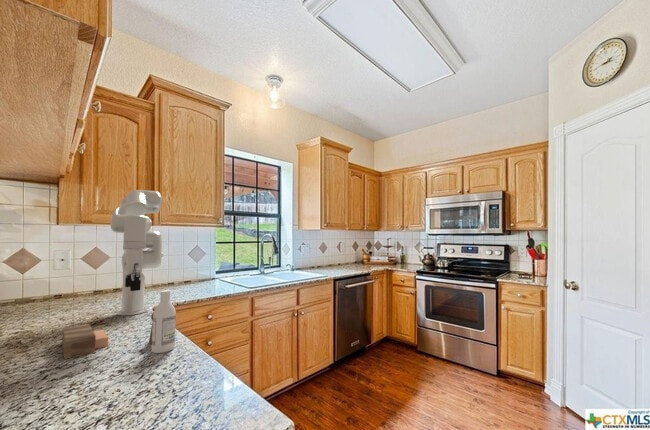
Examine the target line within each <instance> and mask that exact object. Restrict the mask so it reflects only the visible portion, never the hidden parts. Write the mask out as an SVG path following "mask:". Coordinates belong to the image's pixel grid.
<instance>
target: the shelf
mask: <svg viewBox="0 0 650 430" xmlns="http://www.w3.org/2000/svg"><path fill="white" fill-rule="evenodd" d="M93 331H94V330H93V328H92V326H91V324H90V323H86V324H81V325H75V326H68V327H63V328H62V335H61V337H62V338H61V346H62V352H63V353H62V354H63V357H64V359H70V358H74V357H79V356H84V355H88V354H90V353H91V354H92V353H95V352H96V349H95V337H96V336H95V334H94V332H93Z"/></svg>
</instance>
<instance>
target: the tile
mask: <svg viewBox="0 0 650 430" xmlns="http://www.w3.org/2000/svg"><path fill="white" fill-rule="evenodd" d="M93 332H94V334H95V336H96V337H95V350H96V349H100V348H106V347H109V336H108V335H107V333H106V331H105V330H104V329H99V330H93Z"/></svg>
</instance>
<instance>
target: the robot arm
mask: <svg viewBox="0 0 650 430" xmlns="http://www.w3.org/2000/svg"><path fill="white" fill-rule="evenodd" d="M162 204H163V197H162V195H161V193H160V192H159V191H157V190H148V189H147V190H145V189H134V190H131V191H129V192H128V194H127V197H126V196H125V197H123V198H122V200H121V205H119V206H118V207H116V208H115V209H114V210H113V211H112V214H111V218H110V229H111V231H112V232H114V233H116V234H117V233H118V234H119V233H120V234H123V239H122V240H123V241H122V250H125V251H124V253H123V254H122V255H121V265H122V291H121V308H120V310H118V311H117V312H116V313H117V315H118V316H124V317H125V316H135V315H140V314H143V313H146V312H147V311H148V308H147V307H144V305H145V285H146V282H145V281H146V278H145V277H146V276H145V275H144V273H143V270H144V269H157V268H159V267H160V266H161V264H162V251H163V250H162V242H163V241H162V239H163V238H162V234H161V232H160V231H158V230H151V229H152V226H153V224H152V219H151V218H150V217H149V216H147V215H146V214H158V213H159V212H160V211H161V208H162ZM146 249H149V250H146ZM150 249H151V250H150Z"/></svg>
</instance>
